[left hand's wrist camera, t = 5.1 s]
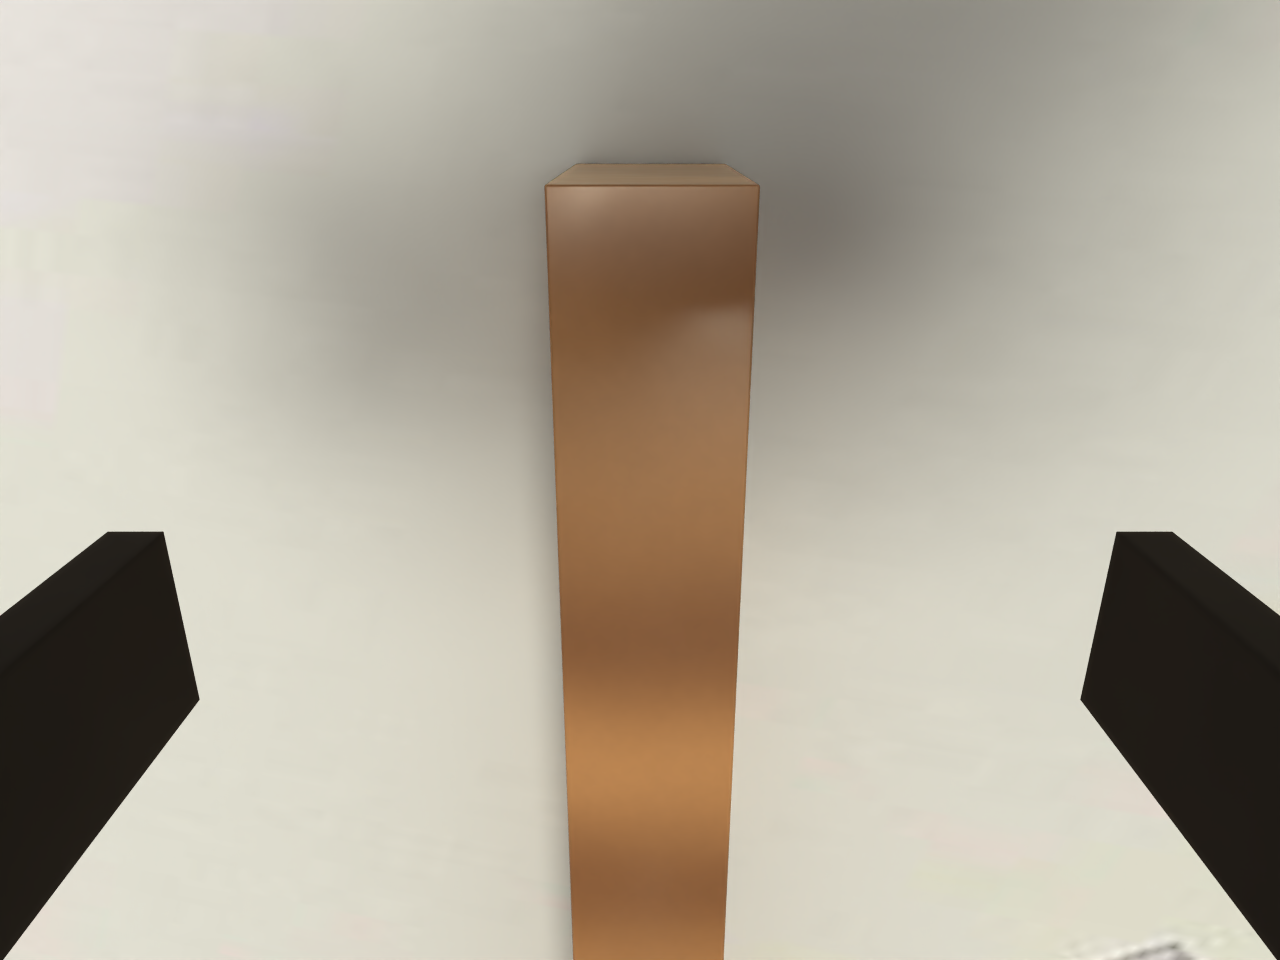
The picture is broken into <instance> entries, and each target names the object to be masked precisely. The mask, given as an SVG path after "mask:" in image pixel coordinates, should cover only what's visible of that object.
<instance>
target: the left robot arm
mask: <svg viewBox="0 0 1280 960" xmlns="http://www.w3.org/2000/svg"><path fill="white" fill-rule="evenodd" d="M199 700H200V699H199V695H198V690H197V685H196V681H195V676H194V671H193V667H192V662H191V657H190V653H189V648H188V644H187V639H186V634H185V630H184V625H183V620H182V616H181V611H180V606H179V602H178V597H177V592H176V588H175V583H174V579H173V574H172V569H171V565H170V560H169V555H168V551H167V546H166V541H165V537H164V532H107V533H106V534H104V535H103V536H102V537H100V538H99V539H98V540H97V541H95V542H94V543H93V544H91V545H90V546H89V547H88V548H86V549H85V550H84V551H83V552H81V553H80V554H79V555H77V556H76V557H75V558H74V559H72V560H71V561H70V562H68V563H67V564H66V565H65V566H63V567H62V568H61V569H59V570H58V571H57V572H56V573H54V574H53V575H52V576H50V577H49V578H48V579H47V580H45V581H44V582H43V583H42V584H40V585H39V586H38V587H36V588H35V589H34V590H33V591H31V592H30V593H29V594H27V595H26V596H25V597H24V598H22V599H21V600H20V601H18V602H17V603H16V604H15V605H13V606H12V607H11V608H9V609H8V610H7V611H6V612H4V613H3V614H2V615H1V616H0V960H3V959H4V958H5V957H6V955H7V954H8V953H9V951H10V950H11V949H12V947H13V946H14V945H15V943H16V942H17V941H18V939H19V938H20V937H21V935H22V934H23V933H24V931H25V930H26V929H27V927H28V926H29V925H30V923H31V922H32V921H33V920H34V918H35V917H36V916H37V914H38V913H39V912H40V910H41V909H42V908H43V906H44V905H45V904H46V902H47V901H48V900H49V898H50V897H51V896H52V894H53V893H54V892H55V890H56V889H57V888H58V886H59V885H60V884H61V882H62V881H63V880H64V878H65V877H66V876H67V874H68V873H69V872H70V871H71V869H72V868H73V867H74V865H75V864H76V863H77V861H78V860H79V859H80V857H81V856H82V855H83V853H84V852H85V851H86V849H87V848H88V847H89V845H90V844H91V843H92V841H93V840H94V839H95V837H96V836H97V835H98V833H99V832H100V831H101V829H102V828H103V827H104V825H105V824H106V823H107V822H108V820H109V819H110V818H111V816H112V815H113V814H114V812H115V811H116V810H117V808H118V807H119V806H120V804H121V803H122V802H123V800H124V799H125V798H126V796H127V795H128V794H129V792H130V791H131V790H132V788H133V787H134V786H135V784H136V783H137V782H138V780H139V779H140V778H141V776H142V775H143V774H144V773H145V771H146V770H147V769H148V767H149V766H150V765H151V763H152V762H153V761H154V759H155V758H156V757H157V755H158V754H159V753H160V751H161V750H162V749H163V747H164V746H165V745H166V743H167V742H168V741H169V739H170V738H171V737H172V735H173V734H174V733H175V731H176V730H177V729H178V727H179V726H180V725H181V724H182V722H183V721H184V720H185V718H186V717H187V716H188V714H189V713H190V712H191V710H192V709H193V708H194V706H195V705H196V704H197V702H198V701H199ZM1080 700H1081V701H1082V702H1083V704H1084V705H1085V706H1086V708H1087V709H1088V710H1089V712H1090V713H1091V714H1092V716H1093V717H1094V718H1095V720H1096V721H1097V722H1098V724H1099V725H1100V726H1101V727H1102V729H1103V730H1104V731H1105V733H1106V734H1107V735H1108V737H1109V738H1110V739H1111V741H1112V742H1113V743H1114V745H1115V746H1116V747H1117V749H1118V750H1119V751H1120V753H1121V754H1122V755H1123V757H1124V758H1125V759H1126V761H1127V762H1128V763H1129V765H1130V766H1131V767H1132V769H1133V770H1134V771H1135V773H1136V774H1137V775H1138V776H1139V778H1140V779H1141V780H1142V782H1143V783H1144V784H1145V786H1146V787H1147V788H1148V790H1149V791H1150V792H1151V794H1152V795H1153V796H1154V798H1155V799H1156V800H1157V802H1158V803H1159V804H1160V806H1161V807H1162V808H1163V810H1164V811H1165V812H1166V814H1167V815H1168V816H1169V818H1170V819H1171V820H1172V822H1173V823H1174V824H1175V825H1176V827H1177V828H1178V829H1179V831H1180V832H1181V833H1182V835H1183V836H1184V837H1185V839H1186V840H1187V841H1188V843H1189V844H1190V845H1191V847H1192V848H1193V849H1194V851H1195V852H1196V853H1197V855H1198V856H1199V857H1200V859H1201V860H1202V861H1203V863H1204V864H1205V865H1206V867H1207V868H1208V869H1209V871H1210V872H1211V873H1212V874H1213V876H1214V877H1215V878H1216V880H1217V881H1218V882H1219V884H1220V885H1221V886H1222V888H1223V889H1224V890H1225V892H1226V893H1227V894H1228V896H1229V897H1230V898H1231V900H1232V901H1233V902H1234V904H1235V905H1236V906H1237V908H1238V909H1239V910H1240V912H1241V913H1242V914H1243V916H1244V917H1245V918H1246V920H1247V921H1248V922H1249V923H1250V925H1251V926H1252V927H1253V929H1254V930H1255V931H1256V933H1257V934H1258V935H1259V937H1260V938H1261V939H1262V941H1263V942H1264V943H1265V945H1266V946H1267V947H1268V949H1269V950H1270V951H1271V953H1272V954H1273V955H1274V957H1275V958H1276V959H1277V960H1280V616H1279V615H1278V614H1277V613H1276V612H1274V611H1273V610H1272V609H1271V608H1269V607H1268V606H1267V605H1265V604H1264V603H1263V602H1262V601H1260V600H1259V599H1258V598H1256V597H1255V596H1254V595H1253V594H1251V593H1250V592H1249V591H1247V590H1246V589H1245V588H1244V587H1242V586H1241V585H1240V584H1238V583H1237V582H1236V581H1235V580H1233V579H1232V578H1231V577H1230V576H1228V575H1227V574H1226V573H1224V572H1223V571H1222V570H1221V569H1219V568H1218V567H1217V566H1215V565H1214V564H1213V563H1212V562H1210V561H1209V560H1208V559H1206V558H1205V557H1204V556H1203V555H1201V554H1200V553H1199V552H1197V551H1196V550H1195V549H1194V548H1192V547H1191V546H1190V545H1189V544H1187V543H1186V542H1185V541H1183V540H1182V539H1181V538H1180V537H1178V536H1177V535H1176V534H1174V533H1173V532H1116V537H1115V541H1114V546H1113V551H1112V555H1111V560H1110V565H1109V569H1108V574H1107V579H1106V583H1105V588H1104V592H1103V597H1102V602H1101V606H1100V611H1099V616H1098V620H1097V625H1096V630H1095V634H1094V639H1093V644H1092V648H1091V653H1090V657H1089V662H1088V667H1087V671H1086V676H1085V681H1084V685H1083V690H1082V695H1081V699H1080Z"/></svg>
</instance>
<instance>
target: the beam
mask: <svg viewBox="0 0 1280 960" xmlns="http://www.w3.org/2000/svg"><path fill="white" fill-rule="evenodd" d="M759 195H760V186H759V185H758V184H757V183H755V182H753V181H752V180H750V179H749V178H747V177H745V176H744V175H742V174H741V173H739V172H737V171H736V170H734V169H733V168H731V167H729V166H728V165H726V164H576V165H574V166H573V167H571V168H570V169H568V170H567V171H565V172H564V173H562V174H561V175H559V176H558V177H556V178H555V179H553V180H552V181H550V182H549V183H547V184H546V185H545V214H546V241H547V268H548V294H549V321H550V348H551V375H552V401H553V428H554V455H555V482H556V509H557V535H558V562H559V589H560V616H561V642H562V669H563V696H564V723H565V749H566V776H567V803H568V830H569V856H570V883H571V910H572V937H573V960H724V938H725V917H726V896H727V875H728V853H729V832H730V811H731V790H732V768H733V747H734V726H735V705H736V683H737V662H738V641H739V620H740V599H741V577H742V556H743V535H744V514H745V492H746V471H747V450H748V429H749V407H750V386H751V365H752V344H753V322H754V301H755V280H756V259H757V238H758V216H759Z"/></svg>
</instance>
